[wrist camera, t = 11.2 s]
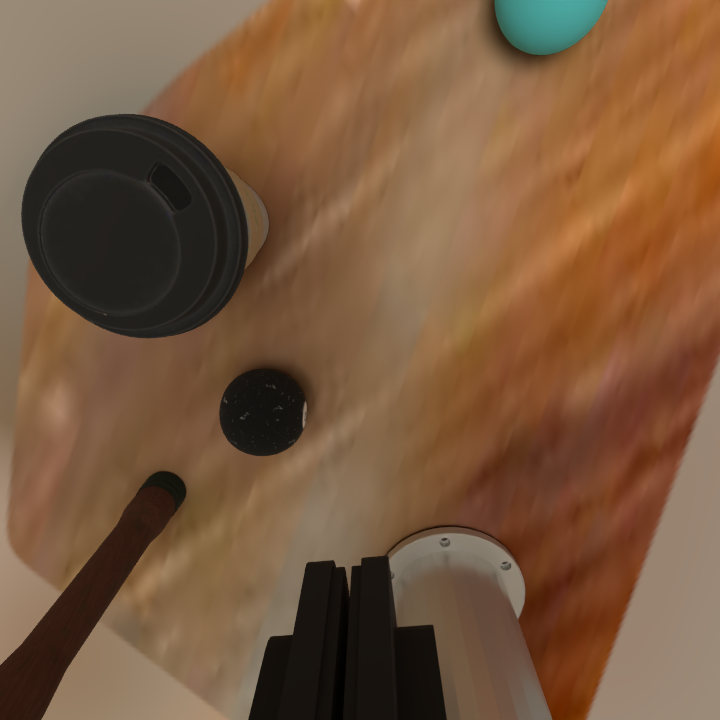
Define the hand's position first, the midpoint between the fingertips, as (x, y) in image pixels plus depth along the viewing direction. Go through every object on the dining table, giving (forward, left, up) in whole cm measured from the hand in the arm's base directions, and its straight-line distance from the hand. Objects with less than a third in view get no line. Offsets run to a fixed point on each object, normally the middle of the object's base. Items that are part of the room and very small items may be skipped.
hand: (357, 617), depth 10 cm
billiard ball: (-5, +8, -27) cm, 29 cm away
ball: (+18, -12, -24) cm, 32 cm away
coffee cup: (+8, +9, -27) cm, 30 cm away
